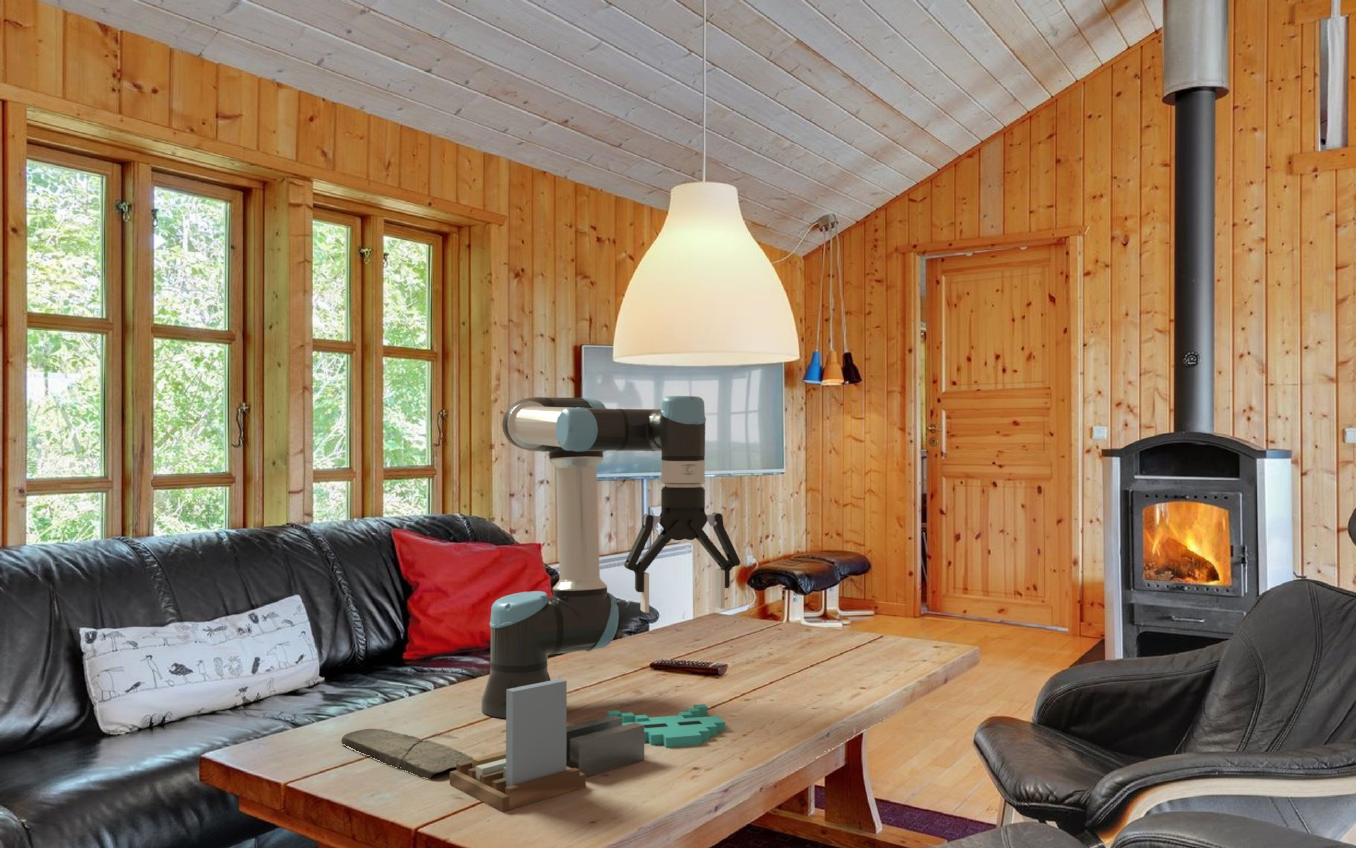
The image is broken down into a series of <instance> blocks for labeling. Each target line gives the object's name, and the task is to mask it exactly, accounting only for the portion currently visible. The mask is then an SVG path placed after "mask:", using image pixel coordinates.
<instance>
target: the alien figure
mask: <svg viewBox="0 0 1356 848" xmlns="http://www.w3.org/2000/svg"><path fill="white" fill-rule="evenodd" d="M708 709H709V708H708V706H707V705H706V704H705V703H702V704H701V703H700V704H699V703H698V704H693V707H689V708H688V707H687V708H686V709H685V710H686V711H679V712H678V715H668V716H667V715H665V716H654V717H648V715H647V714H639V715H638V714H636V715H635V714H634V713H633V712H621V711H620V709H618V710H607V717H609V716H613V715H615V716H618V717H621V718H622V726H623V725H627V724H631V723H635V722H636V723H639V724H642V725H644V741H647V742H648V741H649V742H648V743H649V744H650V745H651V746H655V745H656V744H658V745H663V747H665V748H666V749H668V748H677V747H679V748H680V747H690V746H691V747H692V746H702V742H703V741H710V740H711V739H710V737H716V736H718V733H719V732H720V731H723V732H725V731H726V722H725V721H724V720H723V718H721V717H720V716H718V715H712V716H710V715H709V716H705V715H708V714H709V713H708V711H709V710H708ZM718 731H719V732H718ZM720 733H721V732H720Z"/></svg>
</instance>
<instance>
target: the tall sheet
mask: <svg viewBox="0 0 1356 848" xmlns="http://www.w3.org/2000/svg"><path fill="white" fill-rule="evenodd" d="M550 680H551V679H550ZM567 684H568V683H567V680H565V679H562V678H557V679H556V678H555V679H552V680H551V681H546V682H541V683H536V684H531V685H526V686H521V687H516V688H511V689H506V718H505V719H506V720H505V721H506V722H505V723H506V724H505V728H506V729H505V740H506V741H505V750H506V787H508V786H511V785H515V784H519V783H522V782H526V781H529V780H533V779H537V778H540V777H544V776H547V775H551V774H555V773H558V772H562V771H566V727H567V709H568V708H567V706H568V705H567V703H568V701H567V698H568V697H567V689H568V688H567V686H568V685H567Z"/></svg>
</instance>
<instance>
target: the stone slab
mask: <svg viewBox="0 0 1356 848" xmlns="http://www.w3.org/2000/svg"><path fill="white" fill-rule="evenodd" d="M340 742H341V744H342V745H343V744H345V745H346V746H349V747H351V748H353V749H355V750H356V751H359V752H361V753H364V754H366V755H370V756H371V757H372V758H375V759H377V760H380V761H381V762H383V763H386V764H388V765H392V766H394V767H397V768H400V767H401V769H402V770H406V771H408V772H411V773H413V774H415V775H418V776H420V777H419V778H421V777H425V778H428V779H431V778H432V777H434V775H436V774H438V773H441V772H444V771H446V770H450V769H455V768H456V766H457V764H458V763H462V762H466V761H470V760H472V758H474V757H472V756H470V755H468V754H466V753H463V752H461V751H458V750H457V749H454V748H453V747H450V746H449V745H448V746H447V745H444V744H443V743H438V742H436V741H433V740H430V739H429V740H428V739H424V740H423V739H421V738H419V737H417V736H414V735H408V734H405V733H401V732H395V731H391V730H386V729H382V728H381V729H380V728H378V729H377V728H365V729H359V730H355V731H350V732H347V733H346V734H344V735H343V736H342V737H341V741H340ZM383 763H382V764H383ZM388 765H387V766H388ZM394 767H393V768H394ZM401 769H400V770H401ZM402 770H401V771H402ZM413 774H412V775H413ZM415 775H414V776H415ZM418 776H417V777H418ZM428 779H427V780H428Z"/></svg>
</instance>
